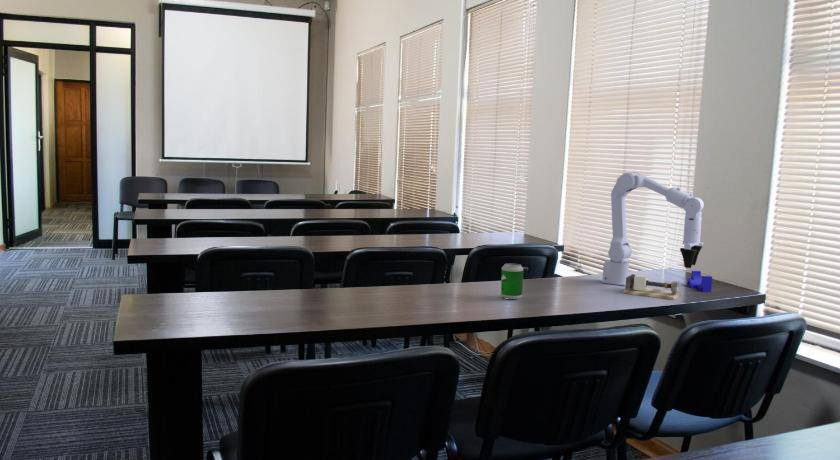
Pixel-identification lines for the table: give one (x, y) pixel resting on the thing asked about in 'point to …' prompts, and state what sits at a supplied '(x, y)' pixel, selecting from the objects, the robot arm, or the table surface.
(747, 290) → the table surface
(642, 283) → the cord end block
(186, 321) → the table surface
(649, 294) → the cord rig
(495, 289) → the table surface
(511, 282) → the soda can
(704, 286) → the blue stepped block
